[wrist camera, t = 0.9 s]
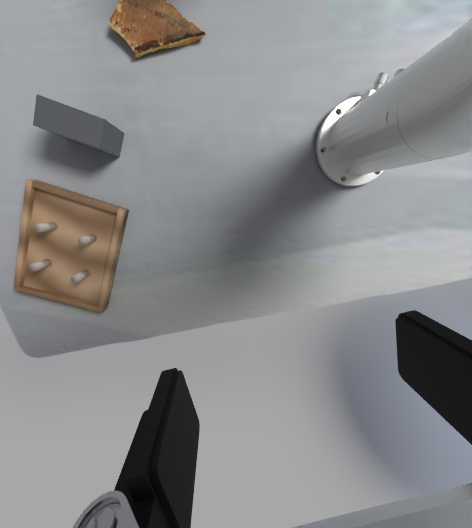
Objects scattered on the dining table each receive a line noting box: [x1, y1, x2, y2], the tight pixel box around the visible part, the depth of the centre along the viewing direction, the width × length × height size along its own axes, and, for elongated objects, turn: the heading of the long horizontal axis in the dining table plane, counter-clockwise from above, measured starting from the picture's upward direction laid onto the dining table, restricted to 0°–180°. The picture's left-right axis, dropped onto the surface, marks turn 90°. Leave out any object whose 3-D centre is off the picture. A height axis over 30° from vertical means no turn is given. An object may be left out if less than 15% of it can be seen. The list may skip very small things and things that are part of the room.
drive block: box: [33, 95, 124, 157], centre depth 32 cm, size 4×8×6 cm, turn 71°
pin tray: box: [14, 179, 129, 313], centre depth 36 cm, size 18×14×4 cm
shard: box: [109, 0, 206, 58], centre depth 31 cm, size 11×8×2 cm
